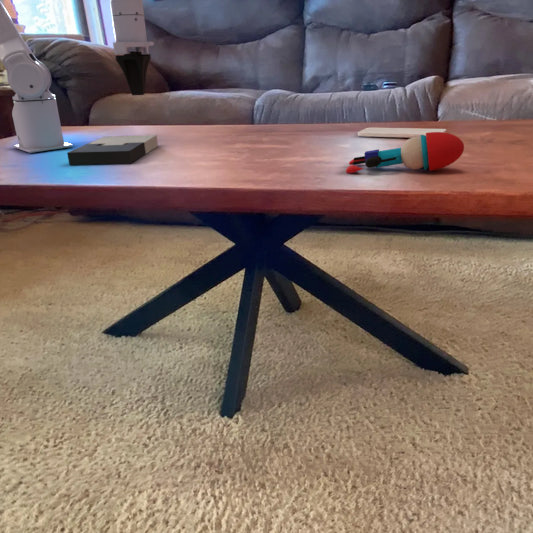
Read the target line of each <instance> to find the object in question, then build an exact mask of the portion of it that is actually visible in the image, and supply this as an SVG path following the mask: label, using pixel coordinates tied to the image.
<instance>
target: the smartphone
mask: <svg viewBox="0 0 533 533" xmlns="http://www.w3.org/2000/svg"><path fill="white" fill-rule="evenodd" d="M429 132H443V133H447V129H446V128H421V127H420V128H418V127H417V128H416V127H415V128H414V127H366V128H364V129H361V130H359V131H358V132H357V136H358V137H378V138H379V137H381V138H413V137H421V135H425V136H426V133H429Z"/></svg>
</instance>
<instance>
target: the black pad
mask: <svg viewBox="0 0 533 533" xmlns="http://www.w3.org/2000/svg"><path fill="white" fill-rule="evenodd" d="M66 155H67V160H68V164H69V166H91V165H96V166H97V165H98V166H99V165H130V164H132V163H134V162H136V161H137V160H139V159H141V158H142V157H143V156H145V155H146V154H145V147H144V142H139V143H128V144H127V145H101V144H88V143H86V144H83V145H81V146H79V147H77V148H75V149H72V150H69V151H68V152H67V153H66Z"/></svg>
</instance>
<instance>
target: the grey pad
mask: <svg viewBox="0 0 533 533" xmlns="http://www.w3.org/2000/svg"><path fill="white" fill-rule="evenodd" d="M139 142H144V147H145V155H147V154H149V153H150V152H151V151H153V150H154V149H156V148H157V147H158V146H159V141H158V135H157V134H144V135H143V134H141V135H139V134H138V135H114V136H113V135H111V136H106V135H105V136H102V137H100V138H98V139H96V140H93V141H90V142H89V143H87V144H101V145H127V144H128V143H139Z"/></svg>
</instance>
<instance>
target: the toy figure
mask: <svg viewBox="0 0 533 533" xmlns="http://www.w3.org/2000/svg"><path fill="white" fill-rule="evenodd" d="M464 151H465V144H464V142H463V140H462V139H461V138H460V137H458V136H456V135H454V134H452V133H449V132H446V133H443V132H429V133H426V136H425V135H421V137H413V138H411V137H409V138H408V139H407V140H405V141H404V142H403V143H402V145H401V147H395V148H390V149H383V150H380V149H372V150H367V151H365V152H364V153H363V154H364V155H362V156H357V157H354V158H353V159H351V160H350V161H349V162H348V164H349V166H347V167H346V170H345V172H346V173H347V174H353V173H356V172H359V171H361V170H363V169H364V168H363V167H359V166H357V165H362V164H364V165H365V167H366V168H368V169H370V168H375V167H376V169H378V168H384V167H390V166H391V167H392V166H396V165H397V166H398V165H404V167H406V168H408V169H411V170H420V169H423V171H426V170H428V171H429V172H432V171H436V170H441V169H443V168H446V167H448V166H450V165H452V164H454V163H455V162H456V161H457V160H459V158H460V157H462V155H463V153H464Z"/></svg>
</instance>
